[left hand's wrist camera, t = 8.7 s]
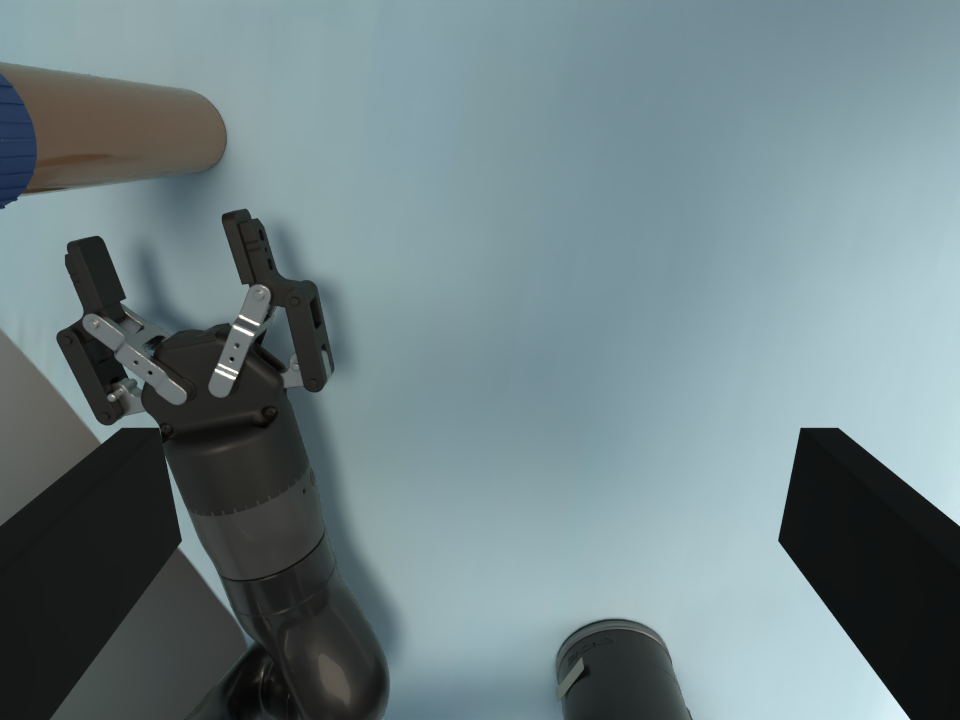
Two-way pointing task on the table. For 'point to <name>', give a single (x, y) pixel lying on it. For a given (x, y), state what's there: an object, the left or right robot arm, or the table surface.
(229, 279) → the table surface
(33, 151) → the lid
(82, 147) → the tan cylinder
